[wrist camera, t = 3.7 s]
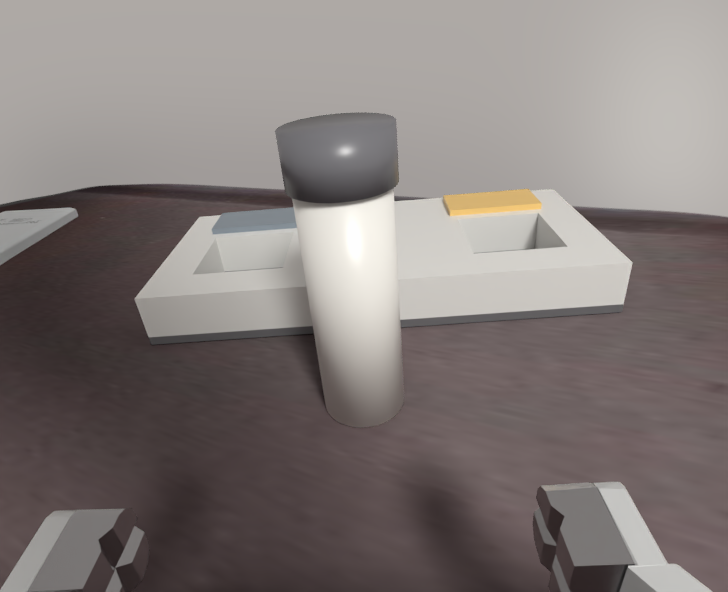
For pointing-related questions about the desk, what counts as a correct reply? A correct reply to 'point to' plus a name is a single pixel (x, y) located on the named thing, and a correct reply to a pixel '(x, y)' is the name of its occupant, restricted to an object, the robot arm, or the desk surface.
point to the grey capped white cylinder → (349, 257)
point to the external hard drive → (29, 228)
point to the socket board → (415, 268)
